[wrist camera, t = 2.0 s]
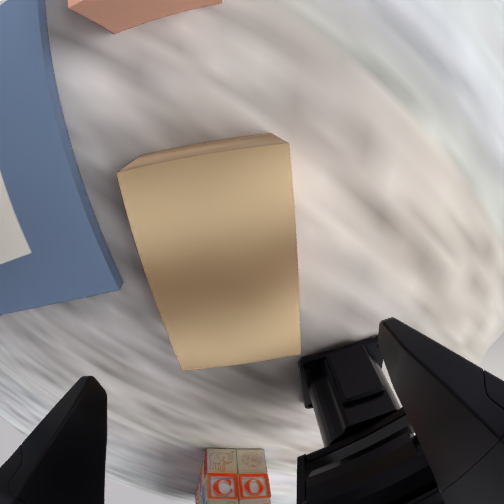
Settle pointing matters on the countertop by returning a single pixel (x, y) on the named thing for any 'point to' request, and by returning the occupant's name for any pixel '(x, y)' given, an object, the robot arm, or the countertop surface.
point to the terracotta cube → (132, 11)
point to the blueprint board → (41, 179)
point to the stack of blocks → (233, 477)
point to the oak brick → (219, 247)
